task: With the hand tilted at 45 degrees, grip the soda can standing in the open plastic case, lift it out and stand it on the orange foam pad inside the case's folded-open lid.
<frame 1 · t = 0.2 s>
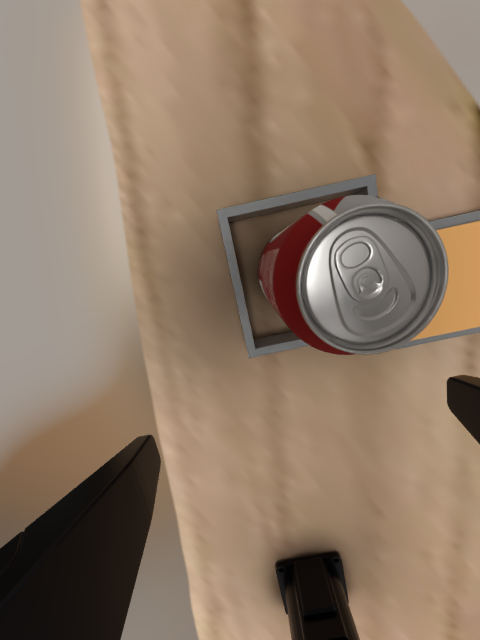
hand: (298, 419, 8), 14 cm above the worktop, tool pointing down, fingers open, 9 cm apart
lid: (434, 280, 22), on the worktop
case: (300, 270, 22), on the worktop
soda can: (299, 270, 22), resting in case
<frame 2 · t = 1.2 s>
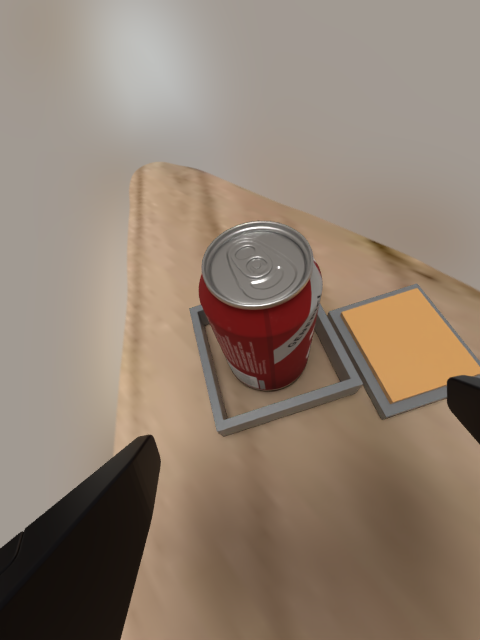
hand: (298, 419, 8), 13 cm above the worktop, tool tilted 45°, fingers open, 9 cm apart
lid: (398, 347, 23), on the worktop
case: (267, 354, 24), on the worktop
soda can: (267, 355, 24), resting in case
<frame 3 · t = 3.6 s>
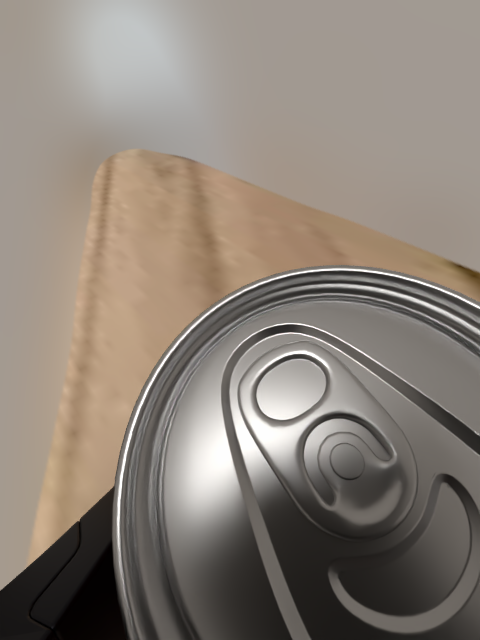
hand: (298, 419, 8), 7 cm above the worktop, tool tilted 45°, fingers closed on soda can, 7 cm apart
soda can: (298, 475, 13), resting in case, touching gripper
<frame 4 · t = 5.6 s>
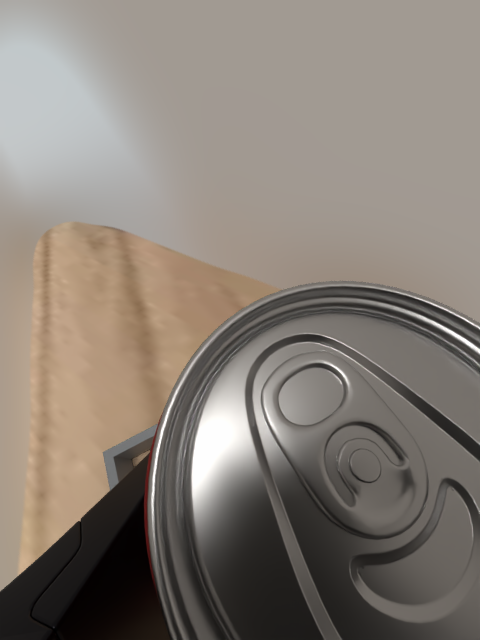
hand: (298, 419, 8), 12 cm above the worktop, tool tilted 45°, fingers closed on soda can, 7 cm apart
case: (215, 495, 18), on the worktop
soda can: (280, 475, 14), point 5 cm above the worktop, touching gripper
when the fingers open (9 cm above the worktop, at t = 7.2 s): soda can stays where it is, resting on lid.
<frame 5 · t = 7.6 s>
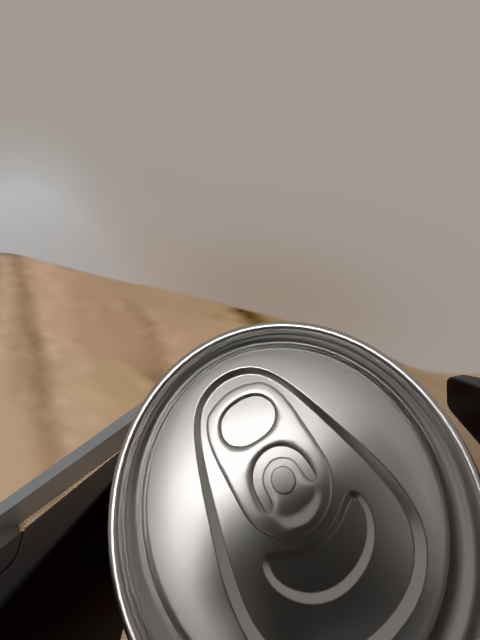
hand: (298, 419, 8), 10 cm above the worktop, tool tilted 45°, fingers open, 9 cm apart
case: (117, 550, 15), on the worktop
soda can: (282, 479, 15), point 1 cm above the worktop, touching lid
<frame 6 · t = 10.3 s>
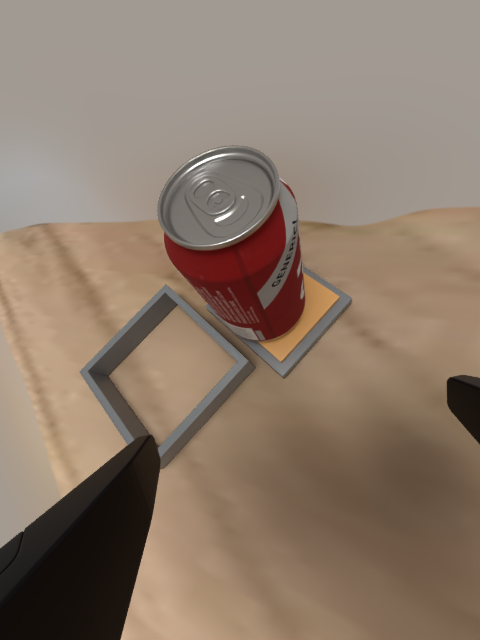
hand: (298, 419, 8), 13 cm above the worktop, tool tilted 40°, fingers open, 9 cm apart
lid: (275, 307, 24), on the worktop
case: (172, 372, 24), on the worktop
soda can: (263, 305, 23), point 1 cm above the worktop, touching lid
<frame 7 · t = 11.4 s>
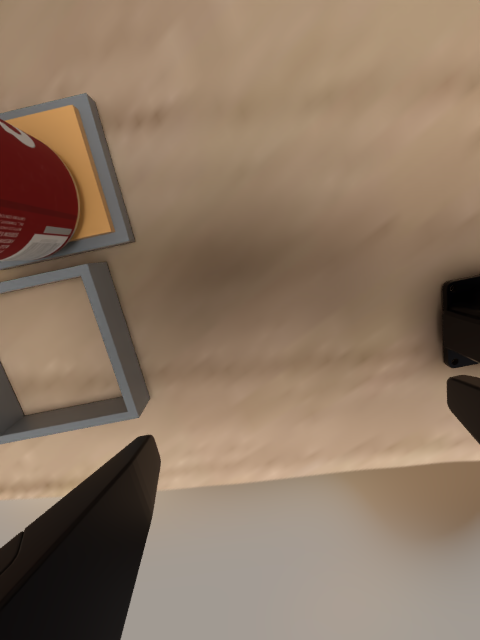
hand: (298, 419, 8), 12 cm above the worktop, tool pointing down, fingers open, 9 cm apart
lid: (47, 191, 18), on the worktop
case: (60, 348, 20), on the worktop
soda can: (31, 201, 17), point 1 cm above the worktop, touching lid
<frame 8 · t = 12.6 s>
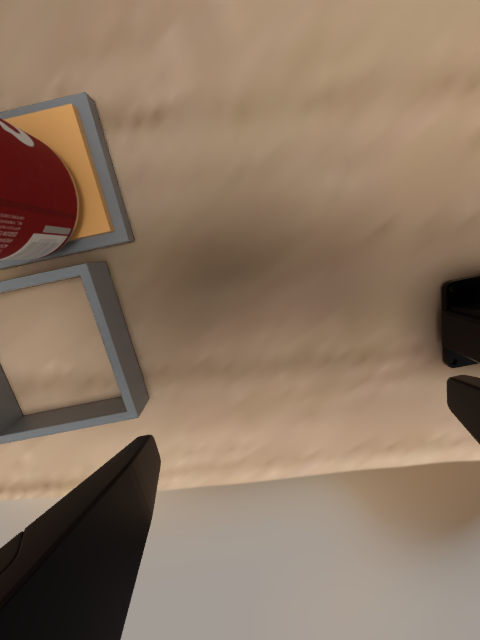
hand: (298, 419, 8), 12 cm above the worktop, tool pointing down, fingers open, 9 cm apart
lid: (46, 190, 18), on the worktop
case: (59, 348, 20), on the worktop
soda can: (30, 201, 17), point 1 cm above the worktop, touching lid
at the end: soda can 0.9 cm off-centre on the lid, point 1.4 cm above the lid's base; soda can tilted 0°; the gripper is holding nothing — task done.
